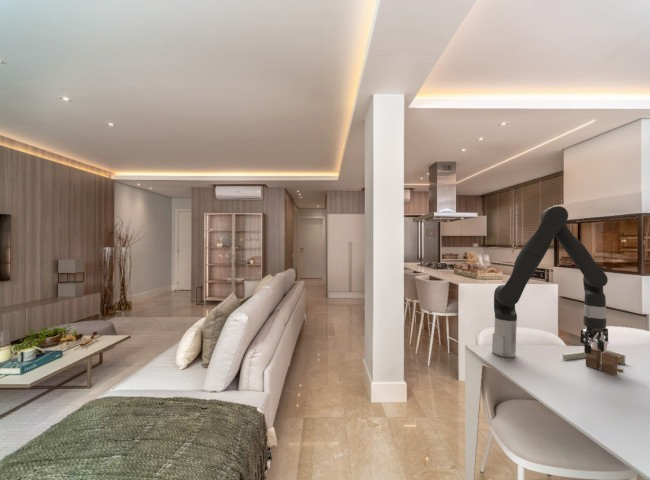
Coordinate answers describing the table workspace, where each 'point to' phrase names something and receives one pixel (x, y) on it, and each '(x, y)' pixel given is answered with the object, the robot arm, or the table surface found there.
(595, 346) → the smoothie
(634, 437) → the table surface
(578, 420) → the table surface
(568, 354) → the frame
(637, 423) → the table surface
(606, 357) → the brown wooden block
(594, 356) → the wooden mallet
